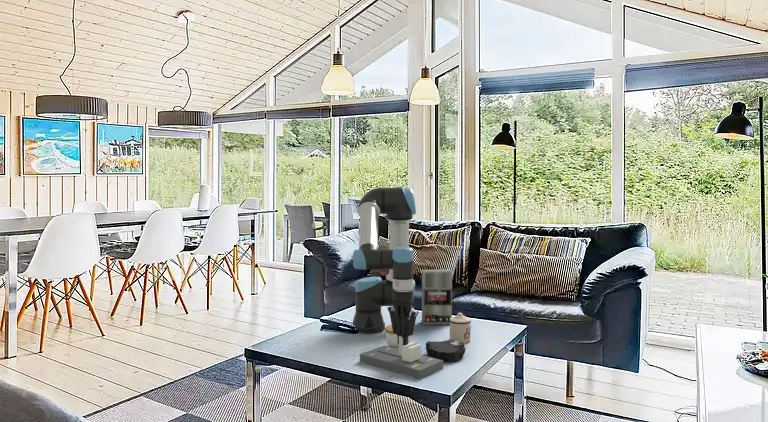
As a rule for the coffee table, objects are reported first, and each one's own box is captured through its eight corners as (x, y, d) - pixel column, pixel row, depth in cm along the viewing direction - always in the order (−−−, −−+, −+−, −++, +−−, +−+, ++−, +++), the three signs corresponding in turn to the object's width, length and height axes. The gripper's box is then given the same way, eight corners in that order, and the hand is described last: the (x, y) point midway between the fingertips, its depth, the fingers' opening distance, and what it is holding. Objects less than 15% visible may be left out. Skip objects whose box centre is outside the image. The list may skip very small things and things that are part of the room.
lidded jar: (414, 344, 238) (414, 321, 237) (406, 351, 228) (406, 328, 227) (389, 341, 242) (389, 319, 241) (381, 349, 231) (381, 326, 231)
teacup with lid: (468, 344, 237) (468, 316, 237) (446, 342, 241) (446, 314, 240) (474, 336, 249) (474, 310, 248) (454, 334, 252) (454, 308, 251)
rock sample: (464, 364, 213) (465, 351, 213) (422, 362, 216) (422, 349, 216) (466, 350, 231) (466, 338, 230) (427, 348, 233) (427, 336, 233)
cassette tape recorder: (422, 325, 268) (422, 272, 266) (421, 322, 274) (421, 269, 272) (452, 325, 268) (452, 271, 267) (450, 321, 274) (450, 269, 273)
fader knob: (401, 360, 208) (401, 346, 207) (412, 356, 212) (412, 342, 212) (410, 362, 205) (410, 348, 205) (420, 358, 210) (420, 344, 209)
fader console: (359, 361, 216) (359, 353, 216) (384, 353, 227) (384, 345, 226) (419, 379, 198) (419, 370, 198) (443, 368, 208) (443, 360, 208)
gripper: (382, 289, 211) (382, 352, 212) (410, 293, 202) (410, 359, 204) (395, 286, 217) (395, 347, 218) (423, 290, 208) (423, 354, 210)
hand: (402, 353), depth 211 cm, fingers closed
